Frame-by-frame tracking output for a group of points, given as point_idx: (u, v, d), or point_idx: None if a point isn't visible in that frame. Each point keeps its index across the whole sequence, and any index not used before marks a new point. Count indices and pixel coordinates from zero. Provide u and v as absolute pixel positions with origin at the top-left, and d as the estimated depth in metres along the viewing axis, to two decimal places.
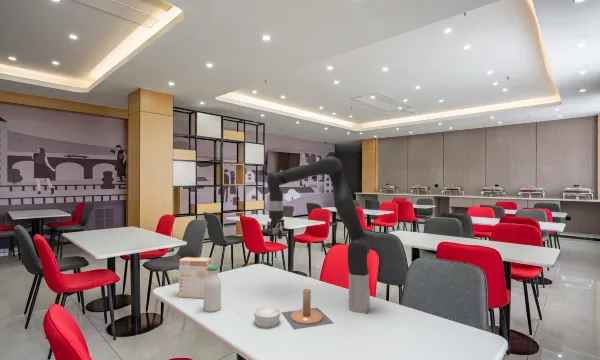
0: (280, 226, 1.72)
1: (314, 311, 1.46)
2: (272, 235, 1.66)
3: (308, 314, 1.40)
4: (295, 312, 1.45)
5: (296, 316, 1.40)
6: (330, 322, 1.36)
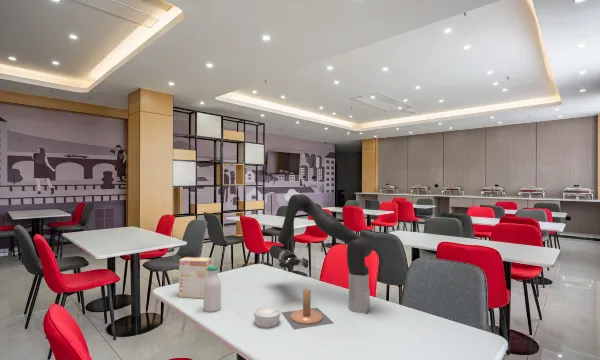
0: (297, 259, 1.59)
1: (314, 311, 1.46)
2: (286, 264, 1.53)
3: (308, 314, 1.40)
4: (295, 312, 1.45)
5: (296, 316, 1.40)
6: (330, 322, 1.36)
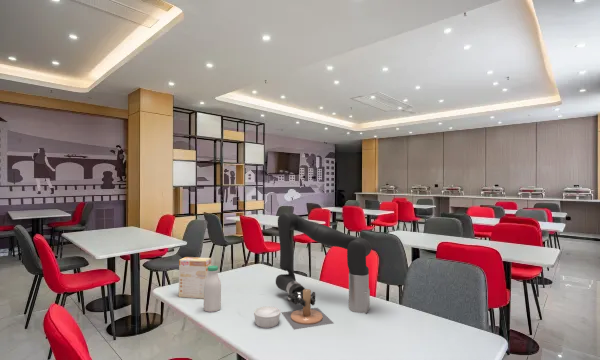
0: None
1: (314, 311, 1.46)
2: (300, 300, 1.41)
3: (308, 314, 1.40)
4: (295, 312, 1.44)
5: (296, 316, 1.40)
6: (330, 322, 1.36)
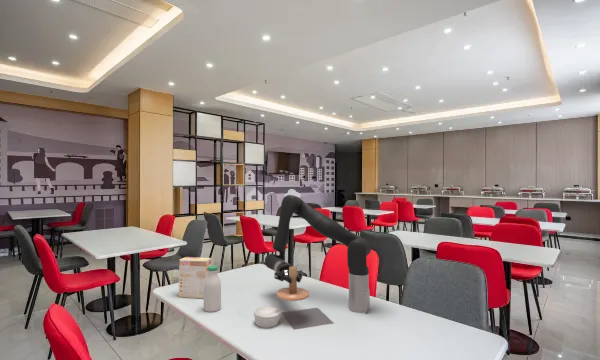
0: None
1: (301, 289, 1.44)
2: (287, 277, 1.39)
3: (294, 291, 1.38)
4: (281, 289, 1.43)
5: (282, 293, 1.38)
6: (330, 322, 1.36)
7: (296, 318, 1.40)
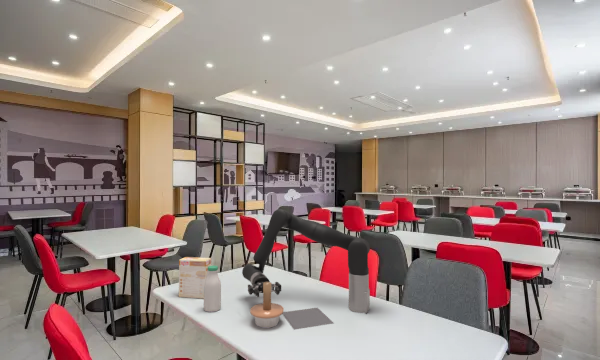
0: None
1: (276, 305, 1.40)
2: (255, 290, 1.35)
3: (268, 308, 1.34)
4: (256, 305, 1.39)
5: (256, 310, 1.34)
6: (330, 322, 1.36)
7: (296, 318, 1.40)
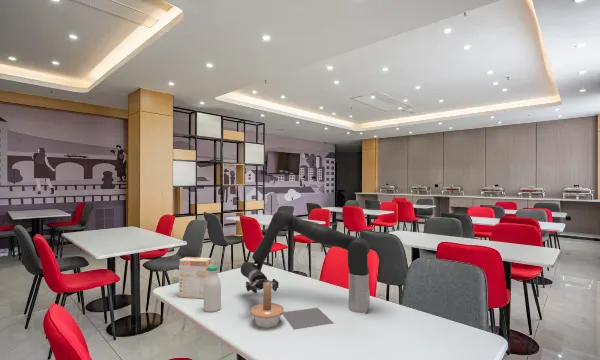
0: (266, 281, 1.45)
1: (276, 305, 1.40)
2: (253, 287, 1.39)
3: (268, 308, 1.34)
4: (256, 305, 1.39)
5: (256, 310, 1.34)
6: (330, 322, 1.36)
7: (296, 318, 1.40)
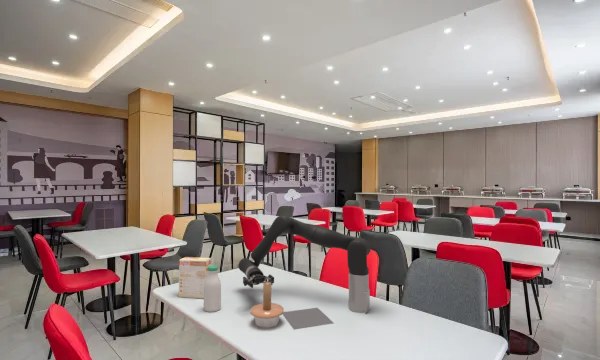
0: (262, 276, 1.53)
1: (276, 305, 1.40)
2: (249, 282, 1.46)
3: (268, 308, 1.35)
4: (256, 306, 1.39)
5: (256, 310, 1.35)
6: (330, 322, 1.36)
7: (296, 318, 1.40)
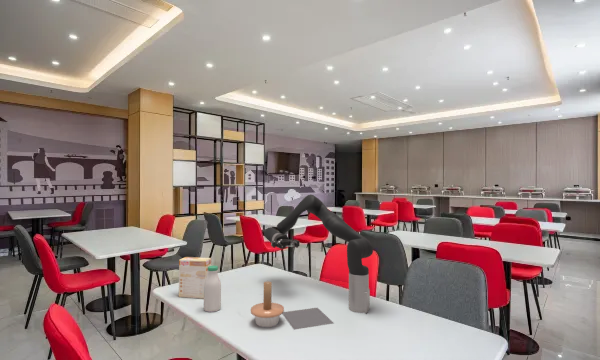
0: (288, 240, 1.68)
1: (276, 304, 1.41)
2: (278, 244, 1.62)
3: (268, 307, 1.35)
4: (256, 305, 1.40)
5: (256, 309, 1.35)
6: (330, 322, 1.36)
7: (296, 318, 1.40)
